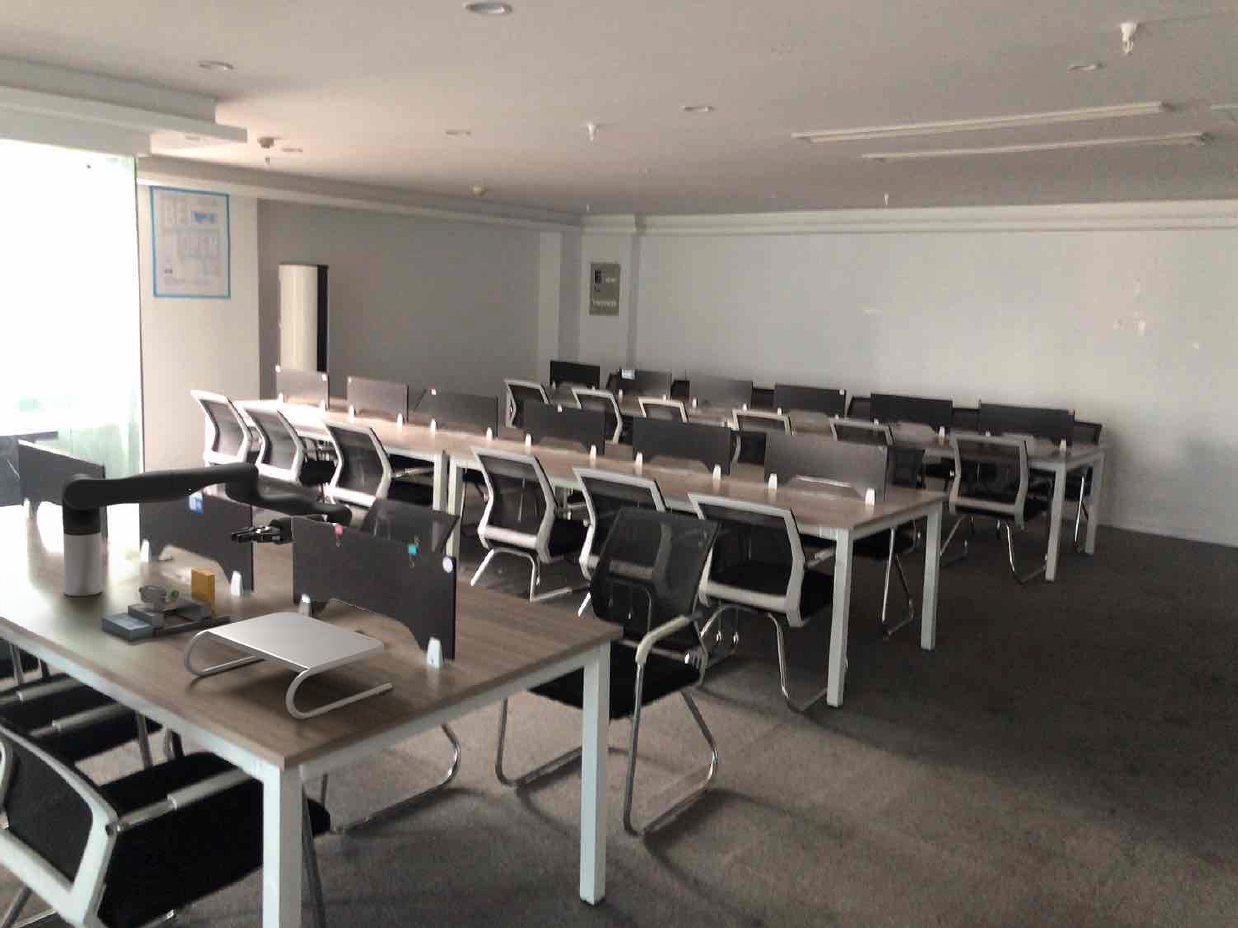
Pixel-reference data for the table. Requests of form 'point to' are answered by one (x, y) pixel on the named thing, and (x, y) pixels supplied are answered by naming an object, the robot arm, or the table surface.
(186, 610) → the free jaw
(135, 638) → the vise body
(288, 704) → the monitor stand
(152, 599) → the mechanical component
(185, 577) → the table surface
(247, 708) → the table surface
